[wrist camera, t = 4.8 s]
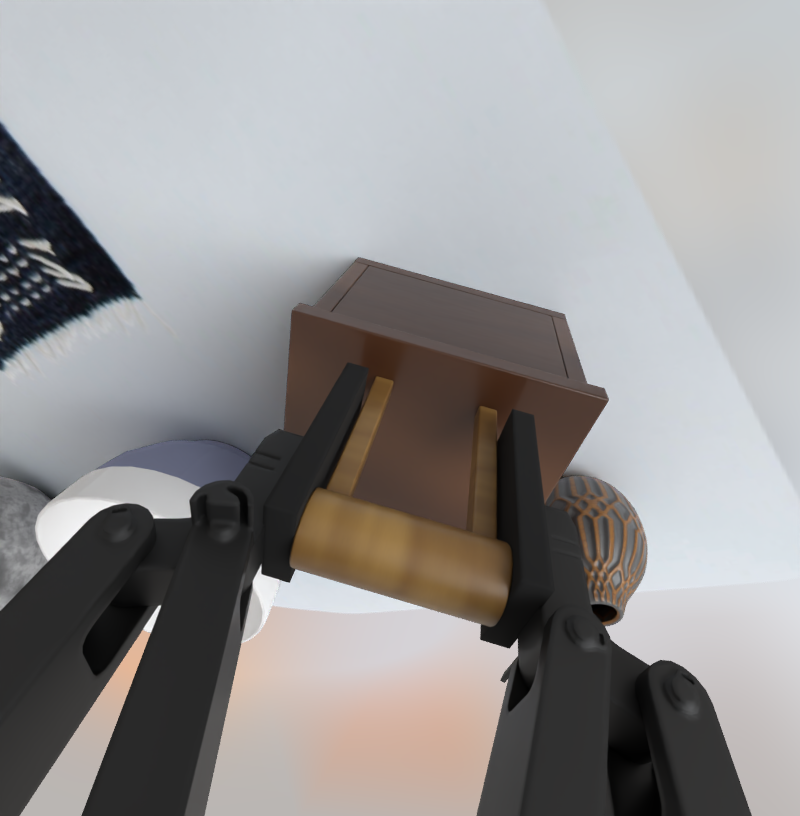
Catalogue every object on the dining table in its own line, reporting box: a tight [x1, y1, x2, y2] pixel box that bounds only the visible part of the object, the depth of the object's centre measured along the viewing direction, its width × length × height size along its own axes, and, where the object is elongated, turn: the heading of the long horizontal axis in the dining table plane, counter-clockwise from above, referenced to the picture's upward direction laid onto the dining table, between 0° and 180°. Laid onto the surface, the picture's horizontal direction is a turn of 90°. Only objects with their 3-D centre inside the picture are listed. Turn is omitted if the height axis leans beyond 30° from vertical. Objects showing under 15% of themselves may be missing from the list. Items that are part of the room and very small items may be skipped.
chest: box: [313, 257, 587, 383], centre depth 24 cm, size 15×12×9 cm
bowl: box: [35, 440, 280, 643], centre depth 32 cm, size 16×16×10 cm
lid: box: [284, 303, 609, 627], centre depth 17 cm, size 15×12×9 cm
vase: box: [545, 476, 647, 626], centre depth 27 cm, size 7×7×9 cm
